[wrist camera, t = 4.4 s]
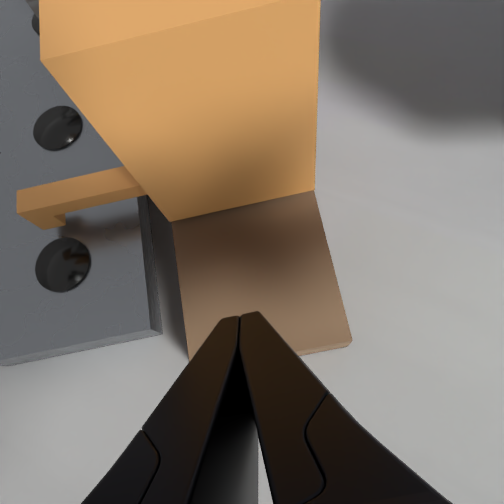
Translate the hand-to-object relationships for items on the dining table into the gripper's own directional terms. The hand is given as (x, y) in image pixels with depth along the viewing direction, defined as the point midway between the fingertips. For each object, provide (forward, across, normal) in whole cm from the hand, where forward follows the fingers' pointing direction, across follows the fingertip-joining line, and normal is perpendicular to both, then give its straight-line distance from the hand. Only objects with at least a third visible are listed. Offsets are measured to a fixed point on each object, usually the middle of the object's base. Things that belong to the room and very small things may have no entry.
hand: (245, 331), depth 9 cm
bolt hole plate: (+15, +8, -2) cm, 17 cm away
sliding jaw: (+10, +3, -1) cm, 10 cm away
